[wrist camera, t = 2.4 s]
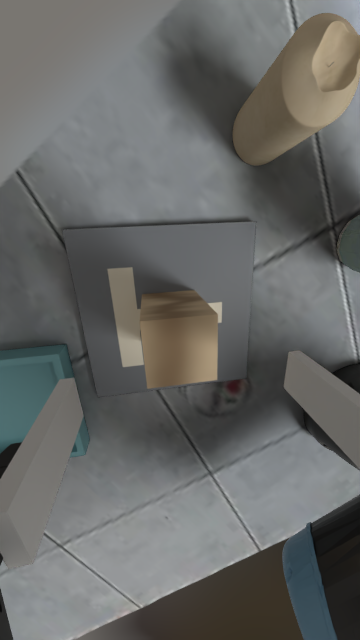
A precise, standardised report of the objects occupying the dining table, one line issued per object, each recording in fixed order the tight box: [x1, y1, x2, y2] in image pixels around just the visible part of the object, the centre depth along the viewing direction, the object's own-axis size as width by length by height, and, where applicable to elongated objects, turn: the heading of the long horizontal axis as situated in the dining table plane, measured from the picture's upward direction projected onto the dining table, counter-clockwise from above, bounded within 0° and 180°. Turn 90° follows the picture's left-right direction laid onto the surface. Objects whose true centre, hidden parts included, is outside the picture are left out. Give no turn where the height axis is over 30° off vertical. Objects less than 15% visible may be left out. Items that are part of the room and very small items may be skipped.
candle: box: [233, 13, 360, 166], centre depth 17 cm, size 6×6×10 cm
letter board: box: [62, 221, 256, 397], centre depth 27 cm, size 20×20×1 cm
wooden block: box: [140, 290, 218, 389], centre depth 22 cm, size 6×6×9 cm
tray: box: [0, 344, 90, 458], centre depth 27 cm, size 15×15×2 cm
